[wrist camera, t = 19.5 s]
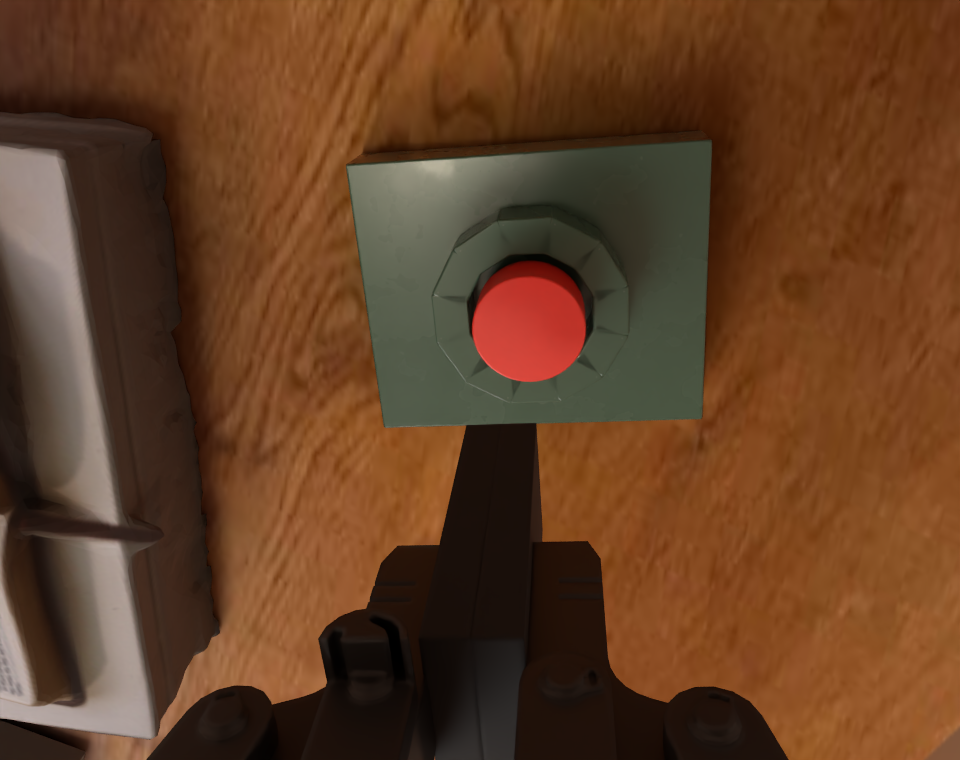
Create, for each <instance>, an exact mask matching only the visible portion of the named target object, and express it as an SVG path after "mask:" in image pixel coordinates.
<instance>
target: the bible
mask: <svg viewBox="0 0 960 760" xmlns="http://www.w3.org/2000/svg"><path fill="white" fill-rule="evenodd" d="M152 136H153V133H152V132H150V131H149V130H147V129H146V128H143V127H139V126H135V125H131V124H128V123H125V122H122V121H119V120H117V119H107V118H96V119H82V118H72V117H69V116H65V115H62V114H59V113H47V112H37V113H25V114H14V113H7V112H0V718H5V719H11V720H16V721H22V722H27V723H33V724H39V725H45V726H52V727H58V728H65V729H73V730H81V731H87V732H93V733H99V734H108V735H116V736H124V737H133V738H141V739H149V740H150V739H152V738H154V737H156V736H157V735H158V732H159V728H160V720H161V719H162V717H163V715H164V714H165V712H166V710H167V709H168V707H169V705H170V704H171V703H172V702H173V700H174V699H175V697H176V695H177V692H178V690H179V687H180V685H181V682H182V679H183V676H184V673H185V670H186V668H187V667H188V665H189V663H190V661H191V660H192V658H193V656H194V655H196V654H198V653H200V652H203V651H204V650H205V649H206V648H207V647H208V644H209V642H210V640H211V638H212V637H214V636H217V635H218V634H219V633H220V630H219V624H218V620H216V619H215V618H214V616H213V614H212V608H213V599H212V596H211V594H210V589H211V583H212V573H211V566H206V563H207V554H208V552H209V551H208V549H207V547H206V545H205V529H206V525H207V518H206V514H203V515H201V499H202V494H203V492H202V488H201V476H200V472H199V462H198V451H199V447H198V444H197V441H196V438H195V435H194V431H193V430H194V428H195V425H196V421H195V419H194V418H193V415H192V412H191V405H190V395H189V394H188V392H187V389H186V385H185V380H184V376H183V373H182V371H181V369H180V367H179V365H178V358H177V350H176V345H175V341H174V339H173V337H172V335H171V333H170V332H171V331H172V330H173V329H174V328H175V327H176V326H177V325H178V324H179V323H180V322H181V309H180V307H179V304H178V302H177V298H178V279H177V271H176V263H175V250H174V236H173V232H172V227H171V222H170V217H169V212H168V208H167V206H166V204H165V202H164V200H163V195H164V190H165V185H166V167H165V164H164V161H163V158H162V155H161V147H160V139H159V140H154V141H151V139H152Z"/></svg>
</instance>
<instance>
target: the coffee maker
mask: <svg viewBox="0 0 960 760" xmlns="http://www.w3.org/2000/svg"><path fill="white" fill-rule="evenodd" d="M84 755H85V751H83V750H80V749H77V748H74V747H72V746H69V745H66V744H63V743H61V742H58V741H55V740H53V739H50V738H47V737H44V736H42V735H39V734H36V733H33V732H31V731H28V730H25V729H23V728H20V727H17V726H14V725H12V724H9V723H6V722H4V721H1V720H0V760H83V759H84Z"/></svg>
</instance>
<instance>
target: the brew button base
mask: <svg viewBox="0 0 960 760" xmlns="http://www.w3.org/2000/svg"><path fill="white" fill-rule="evenodd" d="M711 165H712V140H711V139H710V138H709V137H708V136H707V135H706V134H705V133H703V132H702V131H686V132H672V133H657V134H643V135H628V136H614V137H600V138H585V139H571V140H556V141H542V142H528V143H513V144H499V145H485V146H470V147H456V148H441V149H427V150H413V151H398V152H384V153H370V154H361V155H359V156H358V157H357V158H355V159H354V160H352V161H351V162H349V163H348V164H347V165H346V170H347V177H348V184H349V190H350V197H351V204H352V211H353V218H354V225H355V232H356V238H357V245H358V252H359V259H360V266H361V273H362V280H363V286H364V293H365V300H366V307H367V314H368V321H369V328H370V334H371V341H372V348H373V355H374V362H375V369H376V376H377V382H378V389H379V396H380V403H381V410H382V417H383V423H384V427H385V428H390V427H427V426H463V425H479V424H511V423H571V422H607V421H644V420H680V419H702V416H703V388H704V361H705V333H706V305H707V277H708V249H709V221H710V193H711ZM520 261H541V262H545V263H549V264H551V265H554V266H556V267H558V268H559V269H561V270H563V271H564V272H565V273H567V274H568V275H569V276H570V277H571V278H572V279H573V281H574V282H575V283H576V285H577V286H578V288H579V290H580V292H581V294H582V297H583V301H584V307H585V320H586V336H585V341H584V344H583V347H582V350H581V352H580V354H579V355H578V357H577V358H576V360H575V361H574V362H573V363H572V364H571V365H570V366H569V367H568V368H567V369H566V370H565V371H563V372H562V373H560V374H558V375H556V376H554V377H552V378H549V379H546V380H542V381H535V382H523V381H517V380H513V379H510V378H507V377H505V376H503V375H501V374H499V373H497V372H496V371H495V370H493V369H492V368H491V367H490V366H489V365H487V364H486V362H485V361H484V360H483V359H482V357H481V356H480V354H479V353H478V351H477V348H476V346H475V343H474V340H473V334H472V322H473V316H474V312H475V309H476V306H477V302H478V299H479V296H480V293H481V291H482V289H483V287H484V285H485V284H486V282H487V281H488V280H489V278H490V277H491V276H492V275H494V274H495V273H496V272H497V271H499V270H500V269H502V268H503V267H505V266H507V265H510V264H512V263H516V262H520Z"/></svg>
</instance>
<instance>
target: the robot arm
mask: <svg viewBox="0 0 960 760" xmlns="http://www.w3.org/2000/svg"><path fill="white" fill-rule="evenodd" d="M318 640H319V644H320V649H321V654H322V659H323V664H324V669H325V674H326V678H327V684H326V687H324V688H323V689H321V690H319V691H317V692H315V693H313V694H310V695H307V696H304V697H301V698H297V699H293V700H289V701H285V702H281V703H277V704H273V705H272V704H271V701H270V700H269V698H268V697H267V695H266V694H265V693H264V692H263V691H261V690H259V689H256V688H254V687H252V686H231V687H227V688H223V689H219V690H216V691H214V692H212V693H211V694H209V695H207V696H205V697H203V698H201V699H200V700H199V701H198V702H196V703H195V704H194V705H193V706H192V707H191V708H190V709H189V710H188V711H187V712H186V713H185V714H184V715H183V716H182V718H181V719H180V720H179V721H178V722H177V724H176V725H175V726H174V727H173V728H172V730H171V731H170V732H169V733H168V734H167V736H166V737H165V738H164V739H163V740H162V742H161V743H160V744H159V745H158V746H157V748H156V749H155V750H154V751H153V752H152V754H151V755H150V756H149V757H148V758H147V760H434V756H435V760H788V758H787V756H786V755H785V753H784V751H783V750H782V748H781V746H780V745H779V743H778V741H777V740H776V738H775V736H774V735H773V733H772V731H771V730H770V728H769V726H768V725H767V723H766V721H765V720H764V718H763V716H762V715H761V714H760V713H759V712H758V710H757V709H756V708H755V707H754V706H753V705H752V704H751V703H750V701H748V700H746V699H745V698H743V697H741V696H739V695H738V694H736V693H734V692H732V691H729V690H725V689H721V688H717V687H694V688H691V689H688V690H685V691H683V692H680V693H678V694H677V695H676V696H675V697H674V698H673V699H672V700H671V701H670V702H669V703H666V702H662V701H659V700H655V699H651V698H649V697H646V696H643V695H640V694H638V693H636V692H634V691H633V690H631V689H629V688H628V687H626V686H625V685H624V684H623V683H622V682H621V681H620V680H619V679H618V678H616V676H615V674H614V673H613V671H612V669H611V668H610V664H609V660H608V652H607V639H606V626H605V612H604V599H603V586H602V572H601V559H600V557H599V556H598V555H597V553H596V552H595V551H594V549H593V548H592V547H591V545H590V544H589V542H588V541H574V542H542V513H541V496H540V479H539V462H538V445H537V428H536V423H511V424H479V425H467V426H466V430H465V435H464V439H463V443H462V448H461V452H460V457H459V461H458V465H457V470H456V474H455V479H454V483H453V487H452V492H451V496H450V501H449V505H448V509H447V514H446V518H445V523H444V527H443V531H442V536H441V540H440V545H414V546H397V547H396V548H395V549H394V550H393V551H392V552H391V553H390V554H389V555H388V556H387V557H386V559H385V560H384V561H383V562H382V563H381V565H380V568H379V572H378V575H377V578H376V581H375V586H374V587H373V590H372V593H371V596H370V602H368V605H367V608H366V609H362V610H355V611H353V612H350V613H348V614H345V615H343V616H340V617H338V618H337V619H336V620H334V621H333V622H332V623H331V624H329V625H328V626H327V627H326V628H325V629H324V631H323V632H322V634H321V635H320V637H319V639H318Z"/></svg>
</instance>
